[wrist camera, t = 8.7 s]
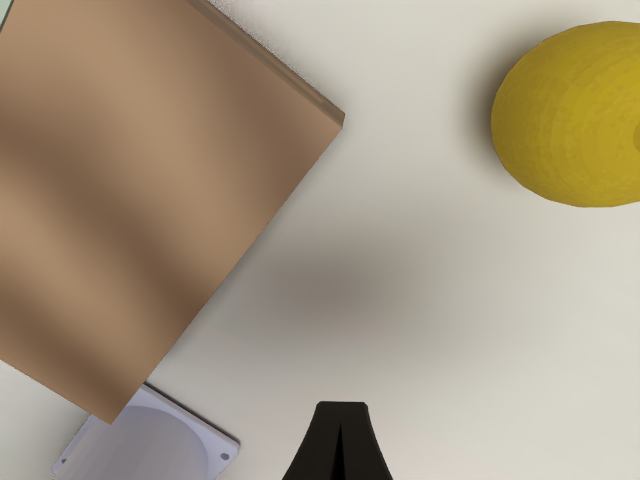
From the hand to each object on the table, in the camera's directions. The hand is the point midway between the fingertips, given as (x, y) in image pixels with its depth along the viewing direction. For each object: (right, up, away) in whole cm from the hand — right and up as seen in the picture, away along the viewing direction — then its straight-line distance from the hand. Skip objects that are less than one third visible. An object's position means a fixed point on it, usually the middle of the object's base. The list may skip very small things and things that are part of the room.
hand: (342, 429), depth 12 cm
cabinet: (-8, +8, +8) cm, 14 cm away
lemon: (+8, +11, +6) cm, 15 cm away
